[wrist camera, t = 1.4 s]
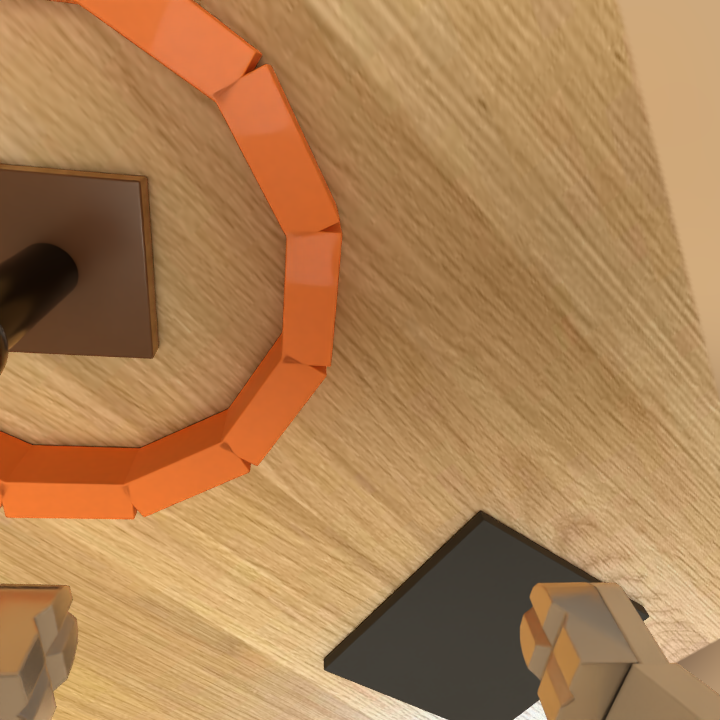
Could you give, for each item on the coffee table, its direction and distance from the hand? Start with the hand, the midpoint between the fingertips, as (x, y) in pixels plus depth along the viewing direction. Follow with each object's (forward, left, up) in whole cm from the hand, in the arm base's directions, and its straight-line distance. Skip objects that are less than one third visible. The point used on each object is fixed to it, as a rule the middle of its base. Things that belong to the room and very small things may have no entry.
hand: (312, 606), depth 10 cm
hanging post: (+6, -9, -18) cm, 21 cm away
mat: (+14, +25, -18) cm, 34 cm away
